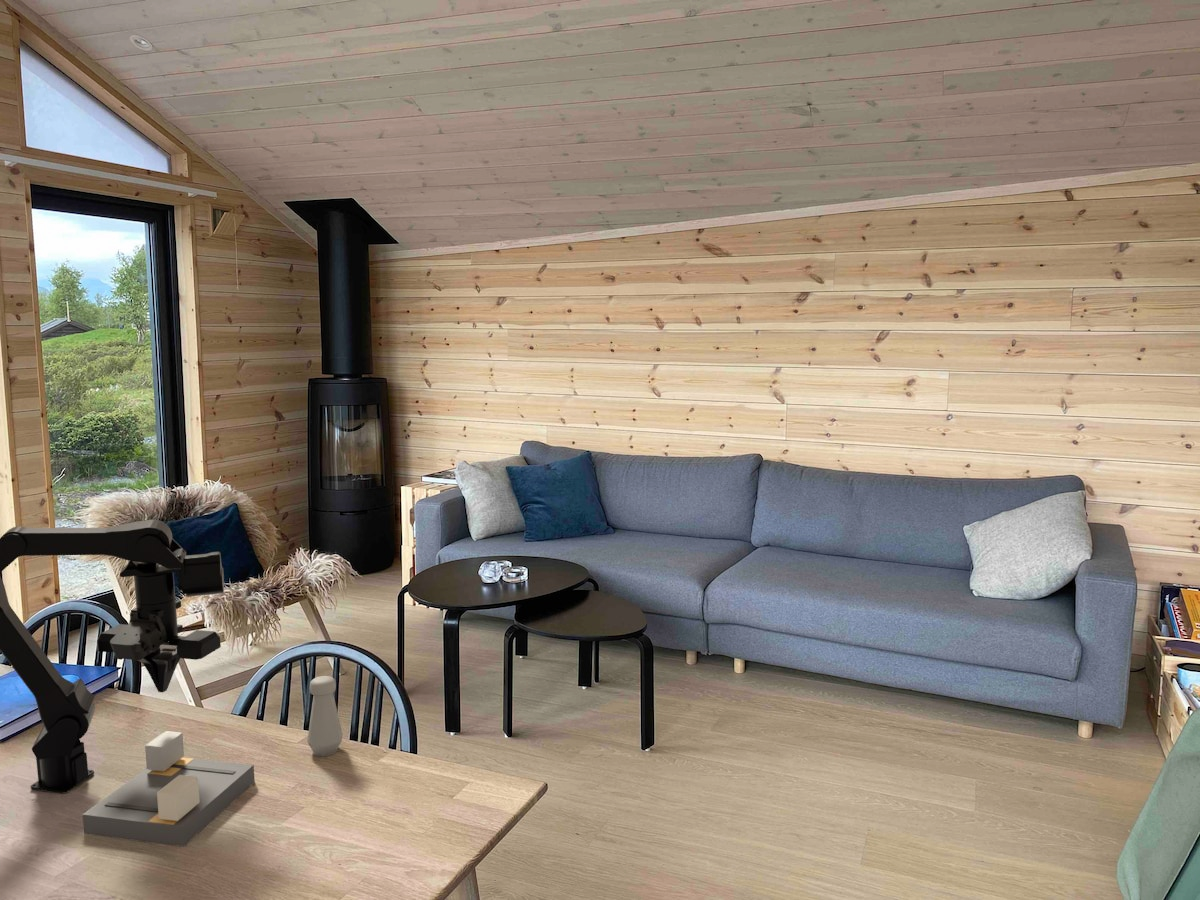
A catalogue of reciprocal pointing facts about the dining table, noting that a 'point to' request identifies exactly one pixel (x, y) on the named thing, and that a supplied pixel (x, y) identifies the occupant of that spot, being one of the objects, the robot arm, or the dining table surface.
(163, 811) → the cream fader
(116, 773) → the dining table surface
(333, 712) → the salt shaker
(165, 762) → the block
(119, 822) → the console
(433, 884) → the dining table surface
